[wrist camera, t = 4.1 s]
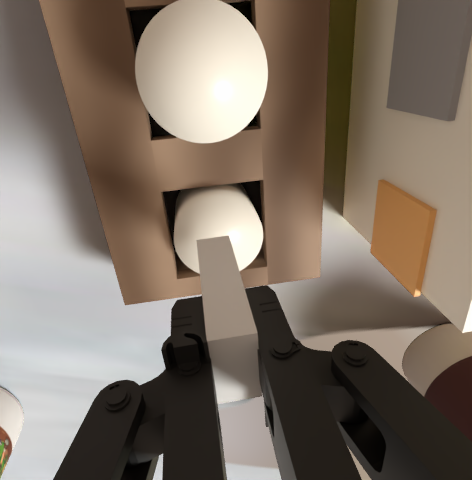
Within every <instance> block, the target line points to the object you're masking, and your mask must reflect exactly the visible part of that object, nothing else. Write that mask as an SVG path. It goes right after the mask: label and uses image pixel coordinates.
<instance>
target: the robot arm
mask: <svg viewBox="0 0 472 480" xmlns="http://www.w3.org/2000/svg"><path fill="white" fill-rule="evenodd" d="M196 241H197V251H198V261H199V271H200V280H201V290H202V296H200V297H194V298H187V299H180V300H177V301H176V303H175V304H174V306H173V308H172V312H171V320H172V321H171V336H170V337H168V339H167V340H166V341H165V342H164V343H163V346H162V349H161V351H162V355H163V359H164V363H165V367H166V369H165V370H164V372H163V373H161V374H160V375H159V376H158V377H156V378H155V379H153V380H151V381H149V382H147V383H144V384H142V385H140V386H139V385H138V384H137V383H136V382H134V381H130V380H121V381H116V382H114V383H112V384H110V385H108V386H106V387H105V388H104V389H103V390H101V391H100V392H99V394H98V395H97V397H96V398H95V399H94V401H93V403H92V405H91V407H90V409H89V411H88V413H87V415H86V417H85V419H84V421H83V423H82V425H81V427H80V428H79V430H78V432H77V434H76V436H75V438H74V440H73V442H72V444H71V446H70V448H69V450H68V452H67V454H66V456H65V458H64V460H63V462H62V464H61V465H60V467H59V469H58V471H57V473H56V475H55V477H54V479H53V480H153V476H154V472H155V469H156V465H157V462H158V458H159V455H161V454H162V453H163V480H227V476H226V468H225V460H224V451H223V443H222V436H221V426H220V419H219V412H218V404H222V403H227V402H233V401H238V400H244V399H249V398H255V397H260V396H262V393H263V397H264V404H265V421H266V427H269V430H270V434H271V438H272V442H273V446H274V450H275V455H276V459H277V463H278V467H279V471H280V475H281V479H282V480H362V479H361V477H360V475H359V472H358V470H357V468H356V465H355V463H354V461H353V458H352V456H351V454H350V452H349V449H350V450H351V451H352V453H353V454H354V456H355V457H356V458H357V460H358V461H359V463H360V464H361V465H362V467H363V468H364V470H365V471H366V472H367V474H368V475H369V477H370V478H371V479H372V480H472V442H471V441H470V440H469V439H468V438H467V437H466V436H465V435H464V434H463V433H462V432H461V431H460V430H459V429H458V428H457V427H456V426H454V425H453V424H452V423H451V422H450V421H449V420H448V419H447V418H446V417H445V416H444V415H443V414H442V413H441V412H440V411H439V410H438V409H436V408H435V407H434V406H433V405H432V404H431V403H430V402H429V401H428V400H427V399H426V398H425V397H424V396H423V395H422V394H421V393H419V392H418V391H417V390H416V389H415V388H414V387H413V386H412V385H411V384H410V383H409V382H408V381H407V380H406V379H405V378H404V377H403V376H401V375H400V374H399V373H398V372H397V371H396V370H395V369H394V368H393V367H392V366H391V365H390V364H389V363H388V362H387V361H386V360H385V359H383V358H382V357H381V356H380V355H379V354H378V353H377V352H376V351H375V350H374V349H373V348H371V347H370V346H368V345H366V344H365V343H362V342H359V341H353V340H347V341H342V342H340V343H339V344H337V345H335V346H334V348H333V350H332V352H330V351H318V350H313V349H310V348H307V347H305V346H303V345H302V344H301V343H300V341H298V340H297V339H295V337H294V336H293V334H292V331H291V329H290V326H289V324H288V322H287V319H286V317H285V315H284V312H283V310H282V308H281V305H280V303H279V300H278V298H277V296H276V293H275V292H274V291H273V290H272V289H270V288H269V287H268V286H267V285H266V286H259V287H253V288H246V289H245V288H244V285H243V282H242V278H241V275H240V271H239V268H238V265H237V261H236V258H235V254H234V251H233V248H232V244H231V241H230V237H229V235H228V236H221V237H214V238H206V239H199V240H196ZM346 444H347V445H346ZM347 446H348V447H349V449H348V447H347Z"/></svg>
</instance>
